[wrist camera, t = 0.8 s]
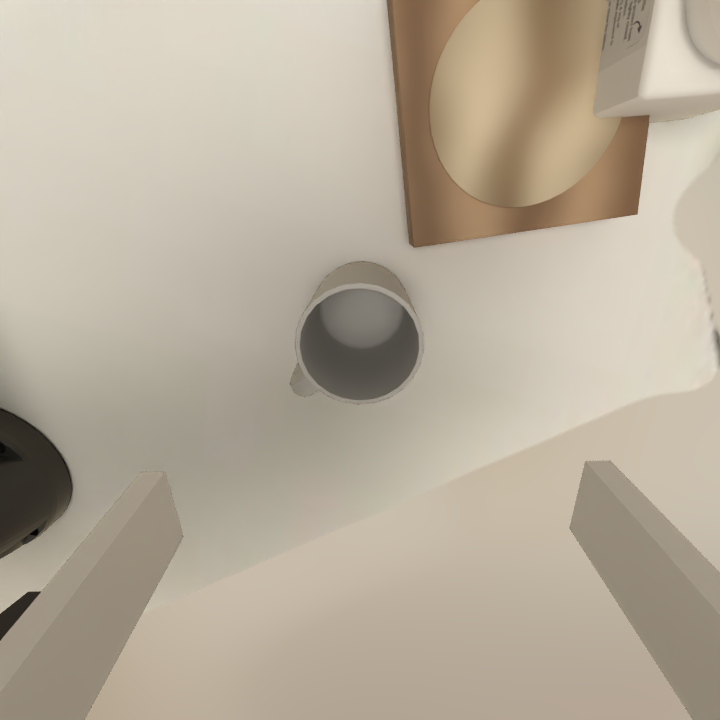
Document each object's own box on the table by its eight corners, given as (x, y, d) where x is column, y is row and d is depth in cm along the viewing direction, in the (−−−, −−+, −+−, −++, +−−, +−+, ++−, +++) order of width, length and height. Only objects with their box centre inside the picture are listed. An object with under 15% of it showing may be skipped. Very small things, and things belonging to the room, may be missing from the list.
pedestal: (409, 243, 27) (414, 248, 24) (386, -3, 22) (390, -36, 19) (608, 213, 26) (640, 214, 23) (634, -52, 21) (680, -96, 18)
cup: (427, 309, 29) (450, 350, 21) (336, 387, 32) (325, 451, 24) (363, 239, 27) (361, 253, 19) (272, 329, 30) (236, 375, 22)
